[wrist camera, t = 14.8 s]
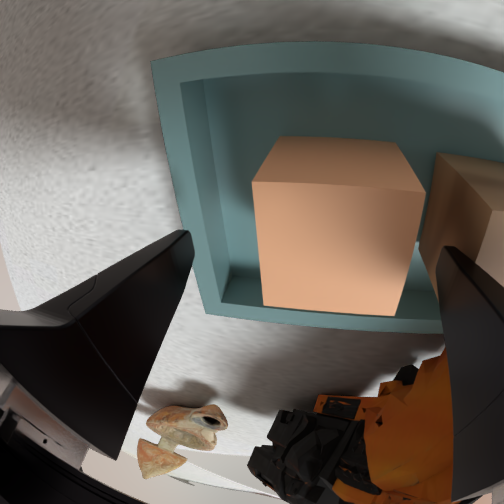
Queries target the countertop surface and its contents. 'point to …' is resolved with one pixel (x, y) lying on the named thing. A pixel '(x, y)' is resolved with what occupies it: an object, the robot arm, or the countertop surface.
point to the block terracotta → (336, 224)
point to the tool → (367, 445)
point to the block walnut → (465, 213)
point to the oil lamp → (178, 436)
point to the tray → (310, 125)
